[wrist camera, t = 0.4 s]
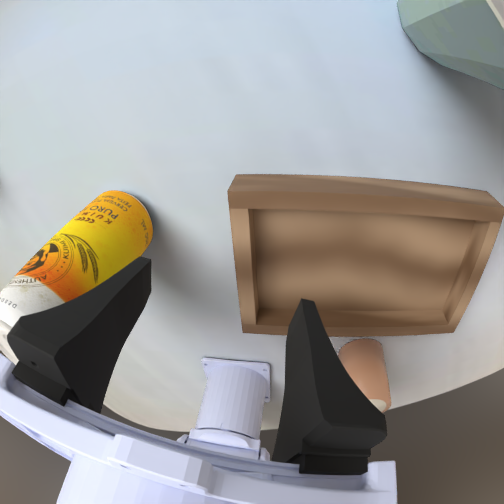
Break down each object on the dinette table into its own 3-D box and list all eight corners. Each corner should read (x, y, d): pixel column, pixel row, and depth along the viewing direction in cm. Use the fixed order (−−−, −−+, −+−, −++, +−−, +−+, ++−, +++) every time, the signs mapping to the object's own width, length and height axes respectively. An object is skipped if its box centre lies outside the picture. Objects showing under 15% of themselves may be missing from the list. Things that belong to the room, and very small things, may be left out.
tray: (444, 310, 25) (453, 332, 23) (247, 308, 28) (242, 332, 26) (486, 191, 18) (505, 208, 15) (236, 174, 21) (227, 191, 18)
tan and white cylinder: (376, 364, 31) (382, 417, 25) (334, 365, 32) (336, 420, 26) (387, 338, 28) (398, 395, 23) (342, 338, 29) (346, 398, 23)
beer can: (137, 177, 22) (4, 313, 9) (168, 241, 25) (81, 395, 13) (86, 197, 23) (-30, 315, 11) (116, 253, 26) (29, 381, 14)
